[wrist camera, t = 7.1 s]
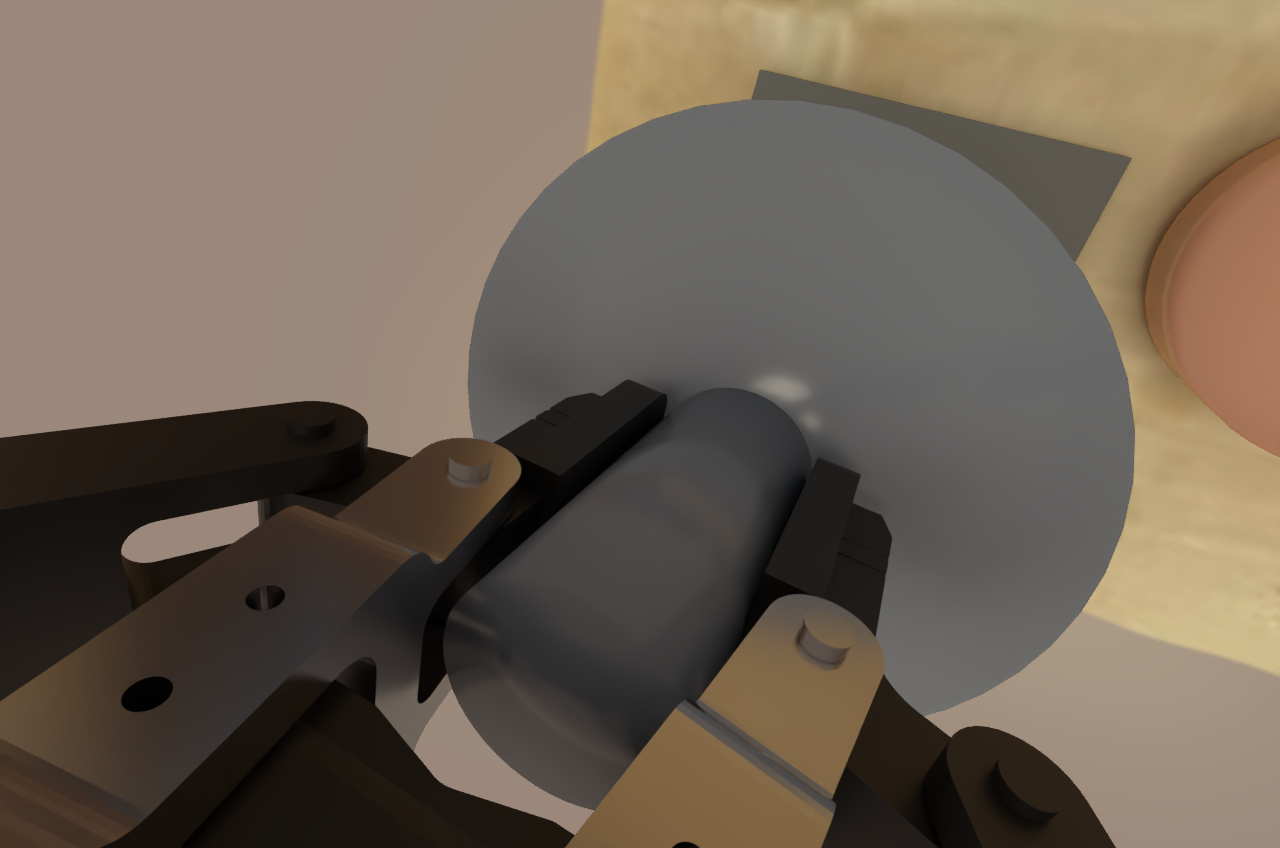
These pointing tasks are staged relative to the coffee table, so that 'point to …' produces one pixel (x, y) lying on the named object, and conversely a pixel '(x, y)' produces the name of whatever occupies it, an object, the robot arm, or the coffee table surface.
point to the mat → (991, 155)
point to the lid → (784, 420)
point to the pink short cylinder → (1225, 296)
